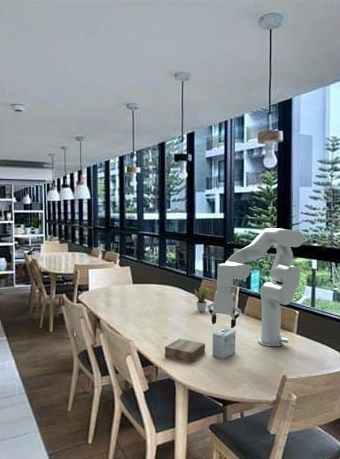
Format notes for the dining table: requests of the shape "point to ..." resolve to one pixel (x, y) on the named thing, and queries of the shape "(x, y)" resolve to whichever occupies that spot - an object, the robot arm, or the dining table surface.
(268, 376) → the dining table surface
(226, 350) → the light bulb box
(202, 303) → the house plant
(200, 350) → the walnut block
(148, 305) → the dining table surface
